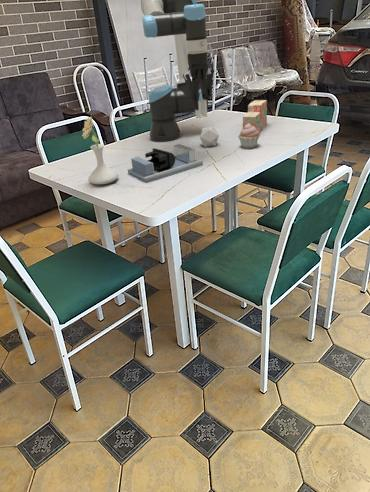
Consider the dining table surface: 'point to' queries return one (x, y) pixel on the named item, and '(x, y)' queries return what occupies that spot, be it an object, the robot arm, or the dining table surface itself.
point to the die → (209, 136)
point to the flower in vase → (98, 159)
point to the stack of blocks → (256, 114)
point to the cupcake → (249, 136)
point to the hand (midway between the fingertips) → (201, 117)
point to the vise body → (147, 174)
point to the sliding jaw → (184, 153)
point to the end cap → (161, 160)
